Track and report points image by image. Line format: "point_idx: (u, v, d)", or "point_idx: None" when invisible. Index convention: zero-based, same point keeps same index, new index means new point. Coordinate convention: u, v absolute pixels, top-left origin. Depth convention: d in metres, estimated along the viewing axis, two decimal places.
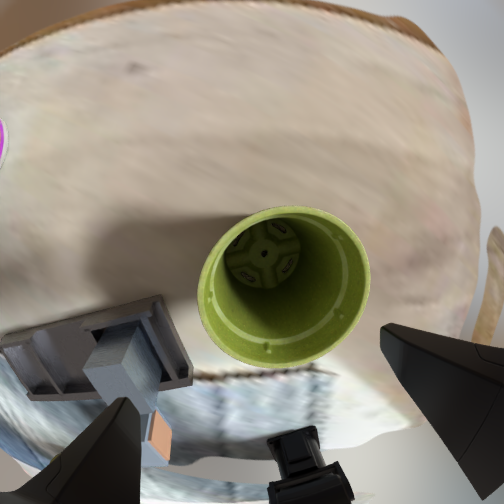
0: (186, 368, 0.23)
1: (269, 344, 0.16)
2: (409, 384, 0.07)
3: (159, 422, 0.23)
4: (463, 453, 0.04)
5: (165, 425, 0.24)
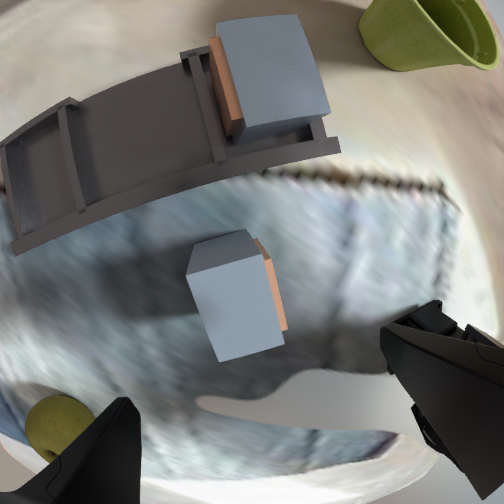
0: None
1: (447, 54, 0.09)
2: (409, 384, 0.07)
3: None
4: (463, 453, 0.04)
5: None
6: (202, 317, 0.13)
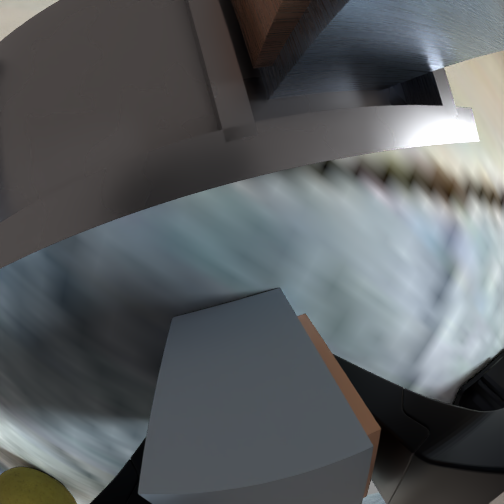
0: None
1: None
2: None
3: None
4: (390, 499, 0.04)
5: None
6: None
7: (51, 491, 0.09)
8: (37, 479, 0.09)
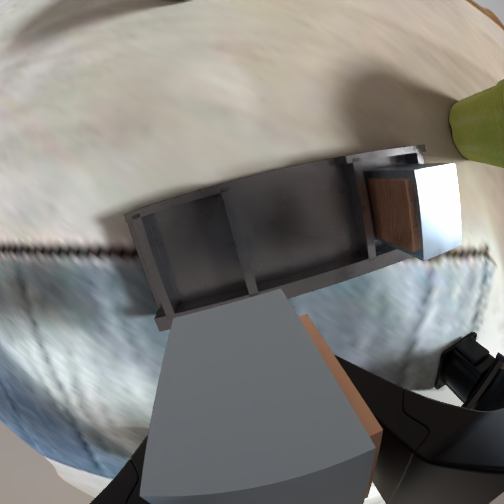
0: None
1: None
2: None
3: None
4: (390, 499, 0.04)
5: None
6: None
7: None
8: None
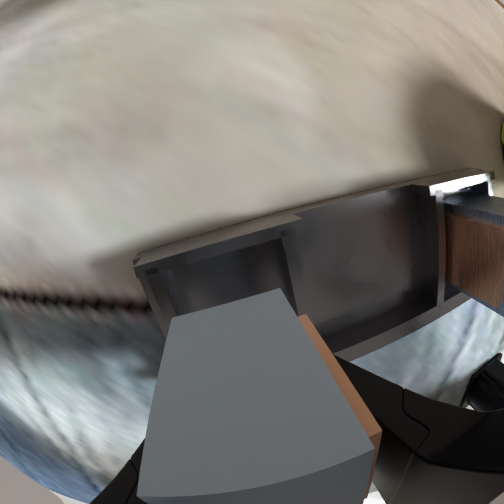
0: None
1: None
2: None
3: None
4: (390, 499, 0.04)
5: None
6: None
7: None
8: None
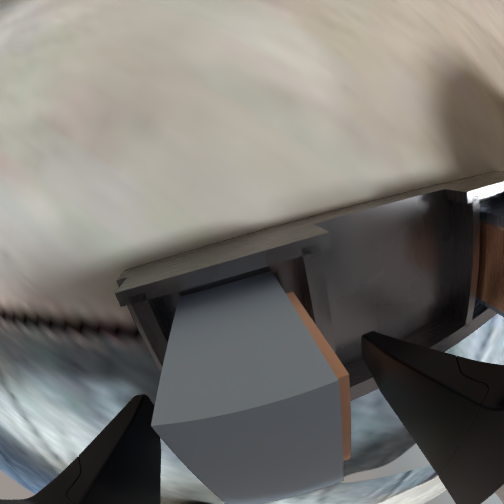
0: None
1: None
2: (389, 394, 0.07)
3: None
4: (444, 467, 0.04)
5: None
6: (198, 475, 0.05)
7: None
8: None
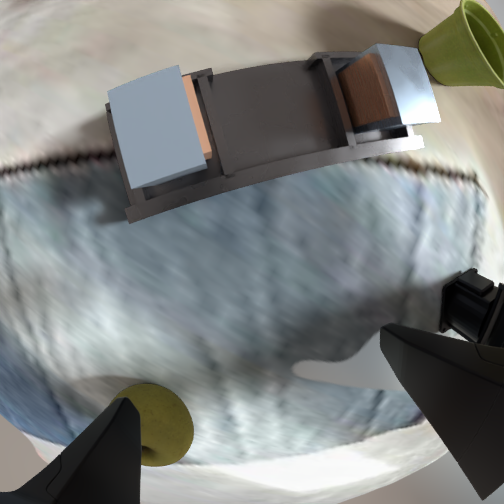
0: None
1: (490, 80, 0.12)
2: (409, 384, 0.07)
3: None
4: (463, 453, 0.04)
5: None
6: (117, 131, 0.10)
7: (173, 394, 0.21)
8: (159, 387, 0.21)
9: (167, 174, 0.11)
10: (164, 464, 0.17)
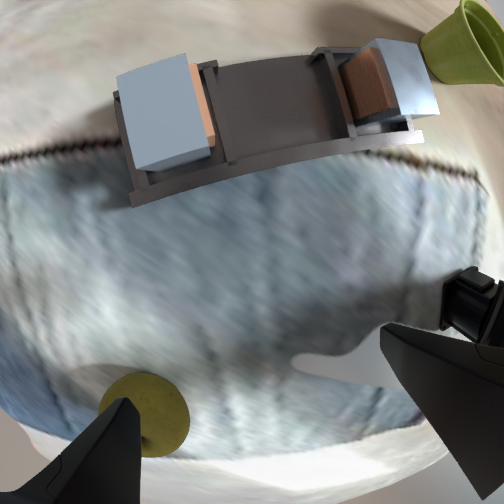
0: None
1: (489, 78, 0.12)
2: (409, 384, 0.07)
3: None
4: (463, 453, 0.04)
5: None
6: (124, 114, 0.11)
7: (170, 384, 0.21)
8: (156, 376, 0.21)
9: (171, 155, 0.11)
10: (159, 454, 0.17)
